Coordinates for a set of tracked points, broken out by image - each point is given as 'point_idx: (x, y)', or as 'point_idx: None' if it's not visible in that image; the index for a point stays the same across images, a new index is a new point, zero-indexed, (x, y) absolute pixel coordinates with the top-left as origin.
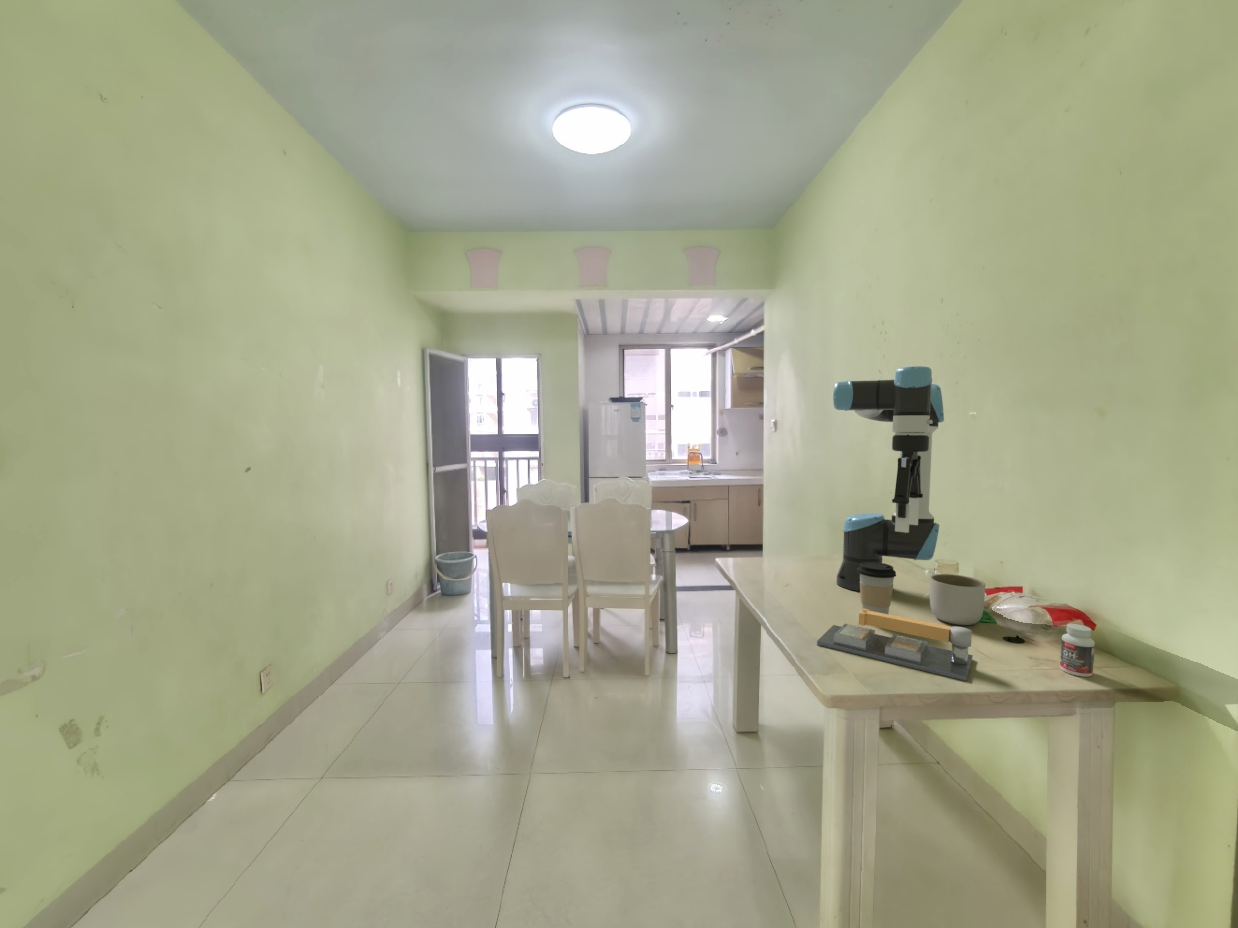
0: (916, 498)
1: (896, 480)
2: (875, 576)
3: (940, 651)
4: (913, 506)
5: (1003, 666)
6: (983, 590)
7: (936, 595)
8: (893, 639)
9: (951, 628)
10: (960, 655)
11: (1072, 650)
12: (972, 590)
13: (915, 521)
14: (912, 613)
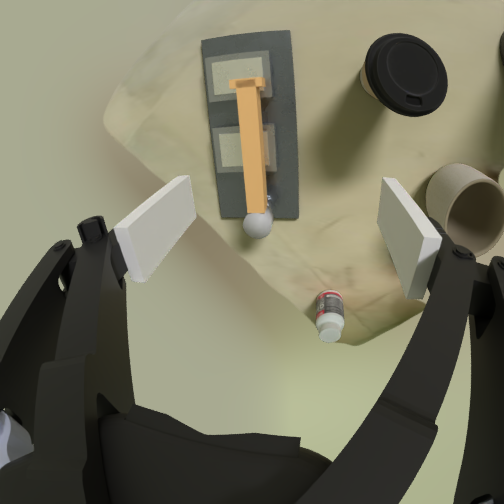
0: (408, 290)
1: (7, 310)
2: (367, 75)
3: (285, 183)
4: (399, 248)
5: (299, 245)
6: None
7: (448, 180)
8: None
9: (253, 215)
10: None
11: (317, 313)
12: None
13: (380, 222)
14: (450, 133)
